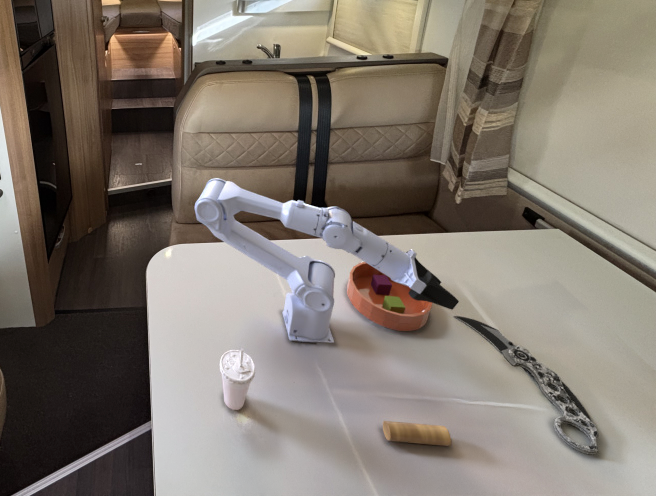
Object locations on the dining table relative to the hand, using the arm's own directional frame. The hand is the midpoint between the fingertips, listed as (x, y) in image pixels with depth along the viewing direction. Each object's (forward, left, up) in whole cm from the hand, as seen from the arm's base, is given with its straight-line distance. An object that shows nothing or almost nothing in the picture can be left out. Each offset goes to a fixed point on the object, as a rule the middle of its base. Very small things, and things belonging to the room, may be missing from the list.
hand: (446, 294), depth 81 cm
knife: (+19, -1, -19) cm, 27 cm away
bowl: (-1, +16, -19) cm, 25 cm away
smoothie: (-40, -11, -19) cm, 45 cm away
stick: (-9, -15, -19) cm, 26 cm away
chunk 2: (-1, +13, -18) cm, 22 cm away
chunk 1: (-1, +19, -18) cm, 27 cm away
